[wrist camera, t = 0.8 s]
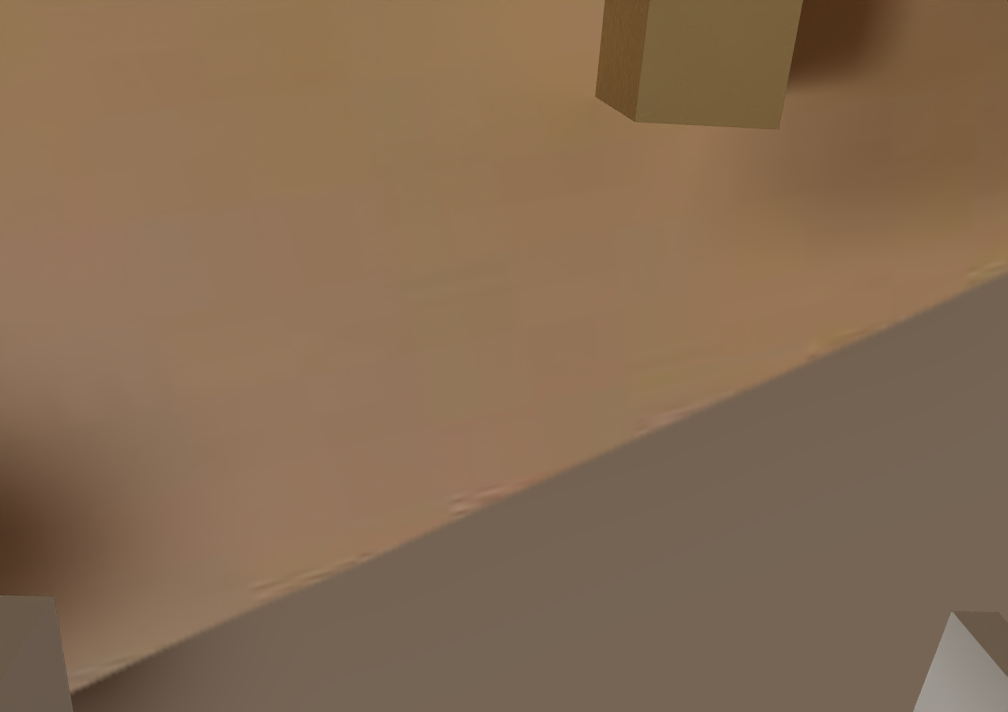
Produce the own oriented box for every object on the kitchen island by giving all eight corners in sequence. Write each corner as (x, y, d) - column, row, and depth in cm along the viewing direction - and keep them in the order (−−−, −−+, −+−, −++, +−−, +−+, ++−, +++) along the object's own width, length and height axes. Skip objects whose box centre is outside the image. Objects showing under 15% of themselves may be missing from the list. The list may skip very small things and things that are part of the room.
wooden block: (608, -36, 26) (655, -44, 20) (731, -27, 26) (808, -33, 21) (595, 96, 27) (635, 121, 22) (710, 103, 28) (778, 129, 22)
